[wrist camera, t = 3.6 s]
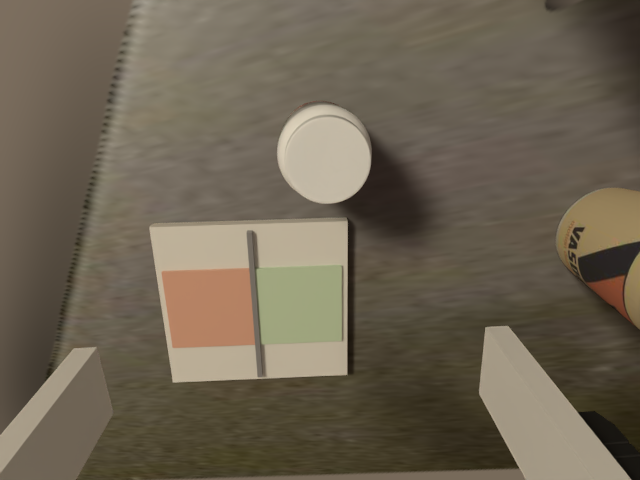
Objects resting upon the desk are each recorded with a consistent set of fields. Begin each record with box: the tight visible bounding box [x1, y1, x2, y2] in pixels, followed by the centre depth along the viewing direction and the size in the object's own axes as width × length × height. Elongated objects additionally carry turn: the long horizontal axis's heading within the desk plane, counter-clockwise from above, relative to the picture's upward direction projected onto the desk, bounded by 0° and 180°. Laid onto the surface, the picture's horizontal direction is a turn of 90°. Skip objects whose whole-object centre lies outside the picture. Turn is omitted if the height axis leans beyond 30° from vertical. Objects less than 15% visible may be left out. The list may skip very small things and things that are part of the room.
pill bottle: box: [277, 101, 372, 204], centre depth 28 cm, size 6×6×10 cm
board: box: [149, 217, 348, 382], centre depth 36 cm, size 14×15×2 cm
